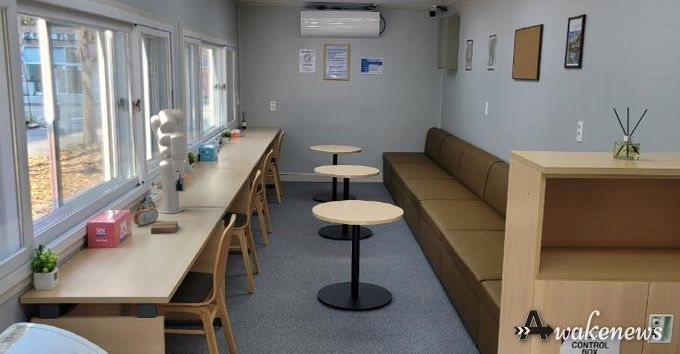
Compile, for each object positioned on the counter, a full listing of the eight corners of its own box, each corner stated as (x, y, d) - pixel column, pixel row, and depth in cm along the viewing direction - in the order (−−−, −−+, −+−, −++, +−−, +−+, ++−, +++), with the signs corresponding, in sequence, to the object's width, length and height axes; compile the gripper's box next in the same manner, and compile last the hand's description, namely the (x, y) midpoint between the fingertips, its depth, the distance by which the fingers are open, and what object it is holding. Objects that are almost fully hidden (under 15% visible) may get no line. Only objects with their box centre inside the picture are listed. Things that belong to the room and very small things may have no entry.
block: (176, 189, 316) (175, 179, 315) (185, 189, 317) (184, 178, 316) (174, 191, 312) (174, 180, 310) (184, 191, 312) (183, 180, 311)
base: (155, 227, 309) (155, 222, 309) (178, 226, 311) (177, 221, 310) (151, 233, 298) (150, 228, 297) (174, 233, 299) (174, 227, 299)
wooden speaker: (155, 220, 323) (154, 206, 322) (159, 221, 322) (158, 206, 320) (133, 226, 311) (132, 211, 309) (137, 227, 309) (136, 212, 308)
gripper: (173, 154, 318) (175, 186, 322) (168, 159, 302) (170, 193, 305) (187, 154, 319) (189, 186, 323) (183, 159, 303) (185, 193, 306)
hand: (180, 189), depth 314 cm, fingers closed on block, 5 cm apart
